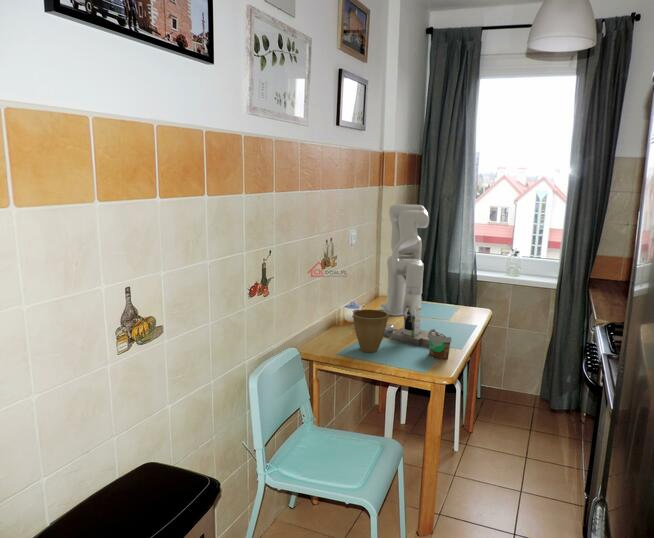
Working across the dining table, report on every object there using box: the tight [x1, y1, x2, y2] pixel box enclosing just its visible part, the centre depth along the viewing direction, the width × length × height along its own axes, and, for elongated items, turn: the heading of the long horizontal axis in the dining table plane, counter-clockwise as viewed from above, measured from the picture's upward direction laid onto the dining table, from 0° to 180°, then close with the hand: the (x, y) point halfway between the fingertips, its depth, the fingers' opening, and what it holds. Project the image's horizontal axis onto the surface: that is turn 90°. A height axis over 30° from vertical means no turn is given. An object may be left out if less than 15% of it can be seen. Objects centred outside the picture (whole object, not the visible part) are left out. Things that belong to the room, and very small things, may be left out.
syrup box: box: [402, 306, 422, 336], centre depth 236 cm, size 6×6×14 cm
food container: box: [427, 328, 452, 361], centre depth 215 cm, size 12×6×10 cm, turn 23°
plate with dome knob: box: [383, 324, 421, 347], centre depth 239 cm, size 21×14×4 cm, turn 55°
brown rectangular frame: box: [391, 327, 430, 347], centre depth 235 cm, size 21×14×4 cm, turn 55°
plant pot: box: [352, 308, 389, 353], centre depth 221 cm, size 15×15×16 cm
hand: (411, 327), depth 237 cm, fingers closed on syrup box, 6 cm apart
